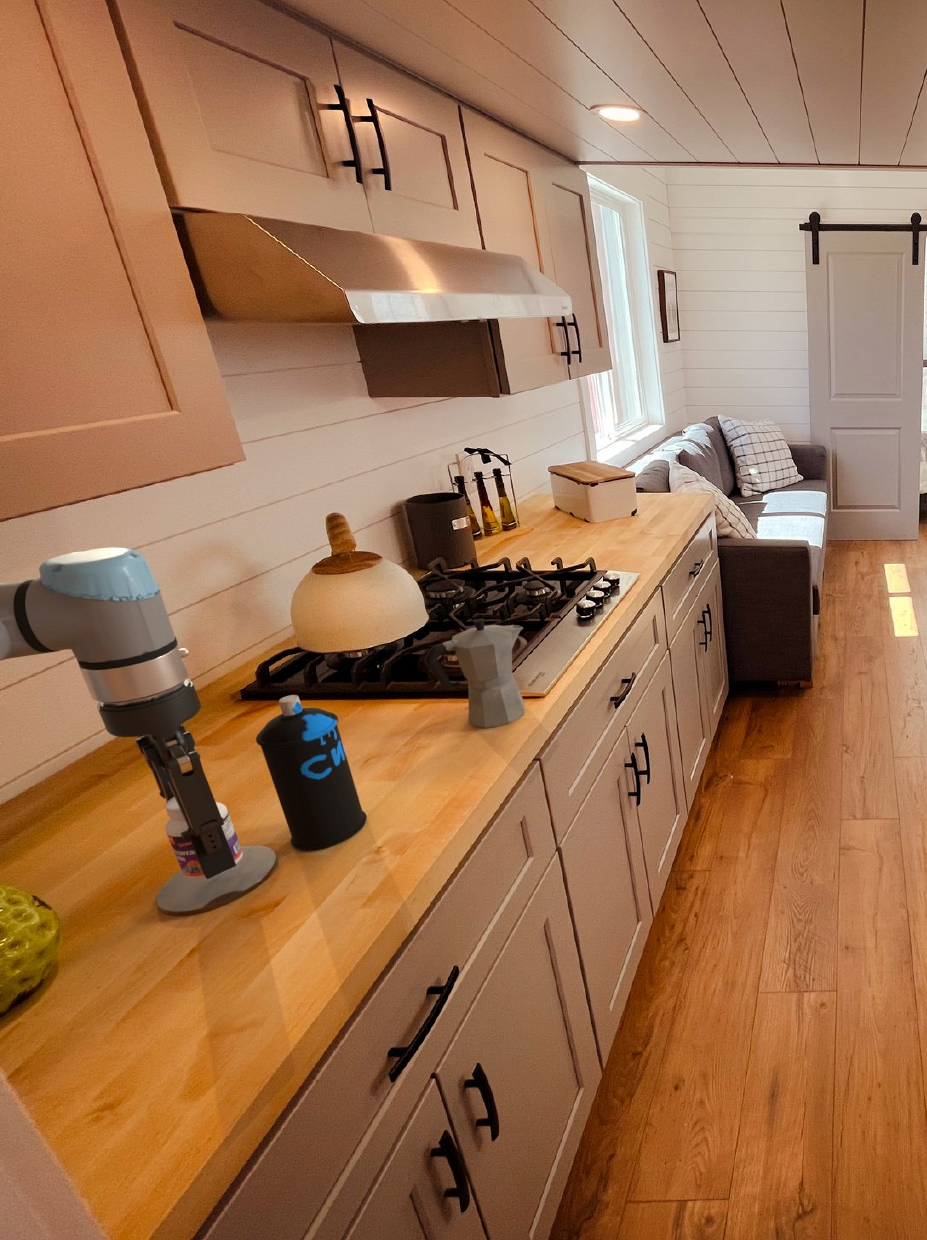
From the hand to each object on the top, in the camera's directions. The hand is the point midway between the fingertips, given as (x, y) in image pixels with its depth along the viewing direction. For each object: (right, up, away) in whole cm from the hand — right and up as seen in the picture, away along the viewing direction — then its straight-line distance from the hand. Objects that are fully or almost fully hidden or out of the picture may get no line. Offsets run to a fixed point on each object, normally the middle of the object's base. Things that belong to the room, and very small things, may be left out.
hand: (212, 860), depth 85 cm
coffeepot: (+13, +10, +37) cm, 41 cm away
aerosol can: (+7, 0, +10) cm, 12 cm away
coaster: (0, -3, +1) cm, 3 cm away
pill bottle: (0, -1, 0) cm, 1 cm away
